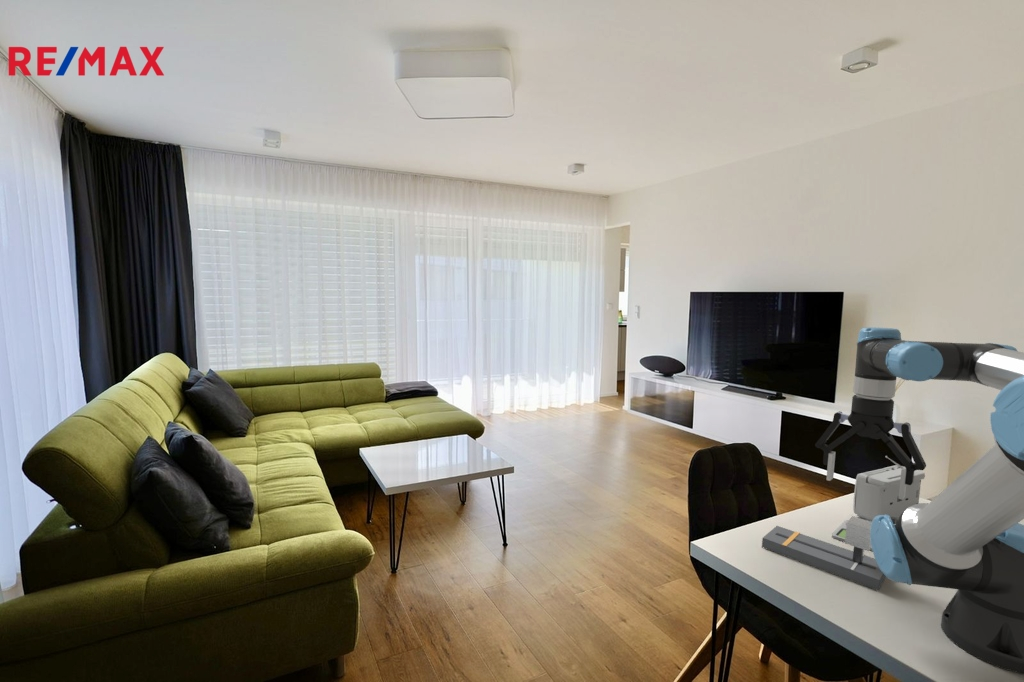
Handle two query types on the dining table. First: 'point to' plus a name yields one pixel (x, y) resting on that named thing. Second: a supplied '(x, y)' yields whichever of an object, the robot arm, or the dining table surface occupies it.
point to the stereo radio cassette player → (884, 492)
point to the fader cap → (858, 536)
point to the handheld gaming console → (842, 533)
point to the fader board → (824, 556)
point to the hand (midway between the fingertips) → (864, 488)
